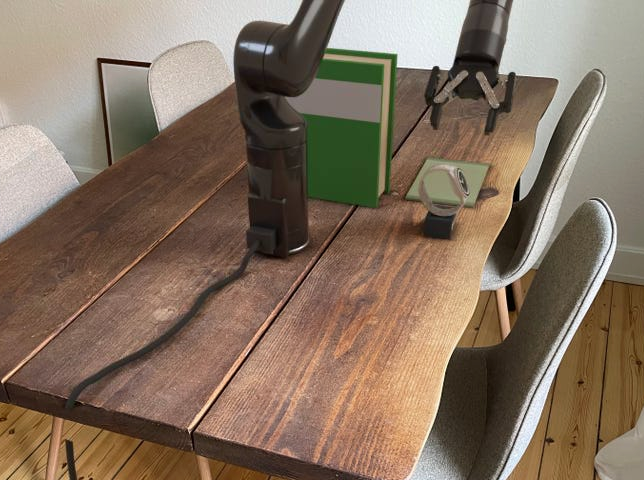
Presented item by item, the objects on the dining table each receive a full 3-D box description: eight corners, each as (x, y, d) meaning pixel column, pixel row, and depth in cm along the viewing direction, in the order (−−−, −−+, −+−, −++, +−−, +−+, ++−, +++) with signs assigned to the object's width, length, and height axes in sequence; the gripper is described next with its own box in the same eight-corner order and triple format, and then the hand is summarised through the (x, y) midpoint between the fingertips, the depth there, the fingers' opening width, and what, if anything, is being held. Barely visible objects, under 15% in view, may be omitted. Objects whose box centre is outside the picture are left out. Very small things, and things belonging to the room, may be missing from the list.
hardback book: (389, 191, 137) (397, 53, 123) (376, 207, 132) (382, 65, 118) (301, 178, 144) (299, 45, 130) (285, 192, 138) (280, 56, 124)
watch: (462, 240, 121) (470, 175, 115) (412, 234, 123) (417, 170, 117) (467, 225, 125) (474, 162, 119) (418, 220, 128) (424, 157, 121)
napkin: (472, 207, 131) (473, 205, 131) (404, 199, 134) (405, 197, 134) (489, 165, 146) (489, 163, 146) (427, 159, 150) (427, 157, 149)
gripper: (437, 24, 125) (415, 115, 123) (526, 29, 120) (504, 124, 118) (441, 50, 132) (420, 136, 130) (525, 56, 127) (505, 145, 125)
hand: (460, 130), depth 124 cm, fingers open, 8 cm apart
